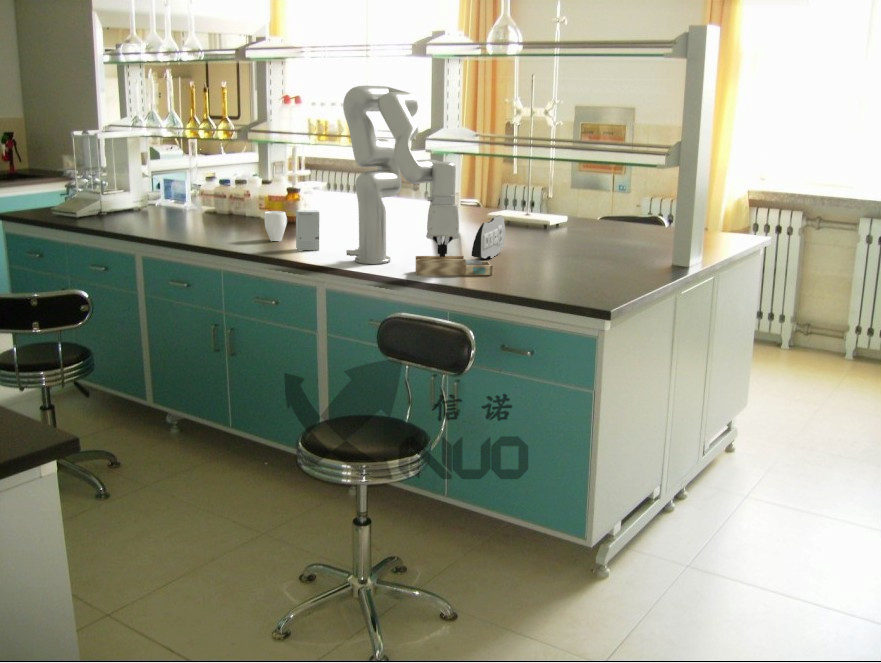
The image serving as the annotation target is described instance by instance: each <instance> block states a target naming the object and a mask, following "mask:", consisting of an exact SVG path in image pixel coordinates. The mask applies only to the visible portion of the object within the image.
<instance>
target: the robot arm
mask: <svg viewBox="0 0 881 663" xmlns="http://www.w3.org/2000/svg"><path fill="white" fill-rule="evenodd" d="M418 107H419V104H418V101H417V99H416V97H415V96H414V95H413V94H412V93H410V92H408V91H405V90H400V89H397V88H393V87H391V86H385V85H357V86H354V87H351V88H350V89H349V90H348V92H346V94H345V96H344V98H343V105H342V109H343V114H344V117H345V120H346V123H347V127H348V132H349V136H350V142H351V146H352V152H353V157H354V160H355V163H356V165H358V166H359V167H361V168H377V169H376V170H367V171H364V172H362V173H360V174H359V175H358V176H357V178H356V180H355V183H354V184H355V186H354V187H355V193H356V199H357V205H358V248H355V249H346V253H345V254H346V256H350V257H354V262H356V263H358V264H362V265H363V264H364V265H383V264H387V262H388V263H390V262H391V257H390V256H388V255H387V210H386V206H385V204H384V202H383V200H382V199H383V198H390V197H395V196H397V195H399V193H400V191H401V189H402V177H403V178H404V179H405V181H406V182H408V183H409V184H412V185H418V184H419V185H420V184H429V183H431V196H427V198H426V199H427V202H430V204H429V208H428V213H427V222H426V224H427V225H426V227H427V228H426V230H427V231H426V236H425V237H426V239H429V240H433V241H434V242H435V243H436V244H437V255H438V256H440V257H442V256H443V257H445V256H446V255H447V254H448V245H449V244H450V242H452V241H455V240H457V239H459V238H460V236H459V232H460V230H459V229H460V225H459V224H460V223H459V222H460V221H459V220H460V219H459V208H458V205H457V204H455V203H456V176H457V174H456V173H457V171H456V170H457V167H456V165H455V163H453V162H451V161H440V160H437V159H432V158H431V159H430V158H429V159H416V158H415V156H414V155H413V153H412V151H411V148H410V142H411V141H412V140H413V139H414V138H416V136H417V135H418V134H419V133H418V132H419V127H418V125H417V124H416V122H415V120H414V119H413V117H414V116H415V115H416V114H417V112H418ZM367 112H380V114H381V116H382V118H383V120H384V121H385V124H386V125H387V127H388V129H389V131H390V133H391V134H392V137H393V139H394V141H395V143H394V144H393V143H392V142H391V141H390V140H389V139H385V138H377V137H376V132H375V128H374V127H375V126H374V125H373V122H372V120H371V118H370V117H369V116H368V115H367ZM441 237H444V238H443V242H442V240H441ZM382 263H383V264H382Z"/></svg>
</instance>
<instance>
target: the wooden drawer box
mask: <svg viewBox="0 0 881 663" xmlns="http://www.w3.org/2000/svg"><path fill="white" fill-rule="evenodd" d="M481 261H482V266H466V259H465V258H464V255H445V257H443V256H442V257H440V256H439V255H415V274H416V276H417V277H418V276H466V275H492V276H493V265H492V263H491V262H490V261H489V260H481ZM465 271H466V274H465Z"/></svg>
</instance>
